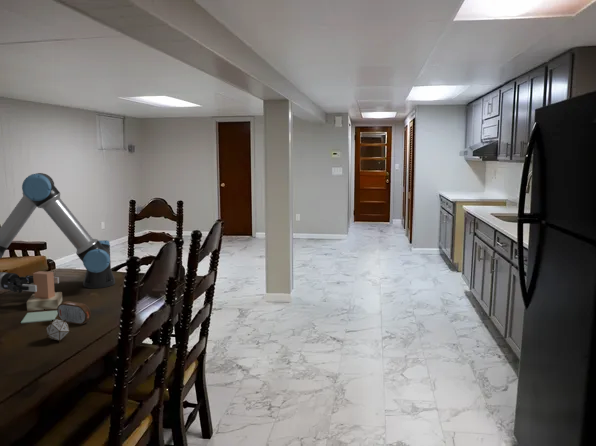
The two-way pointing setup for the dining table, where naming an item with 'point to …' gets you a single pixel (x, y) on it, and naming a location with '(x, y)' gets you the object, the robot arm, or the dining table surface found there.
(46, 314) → the mat
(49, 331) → the game die
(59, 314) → the portable speaker
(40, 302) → the beige stone slab
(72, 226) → the robot arm
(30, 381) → the dining table surface
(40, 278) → the tan upright block
